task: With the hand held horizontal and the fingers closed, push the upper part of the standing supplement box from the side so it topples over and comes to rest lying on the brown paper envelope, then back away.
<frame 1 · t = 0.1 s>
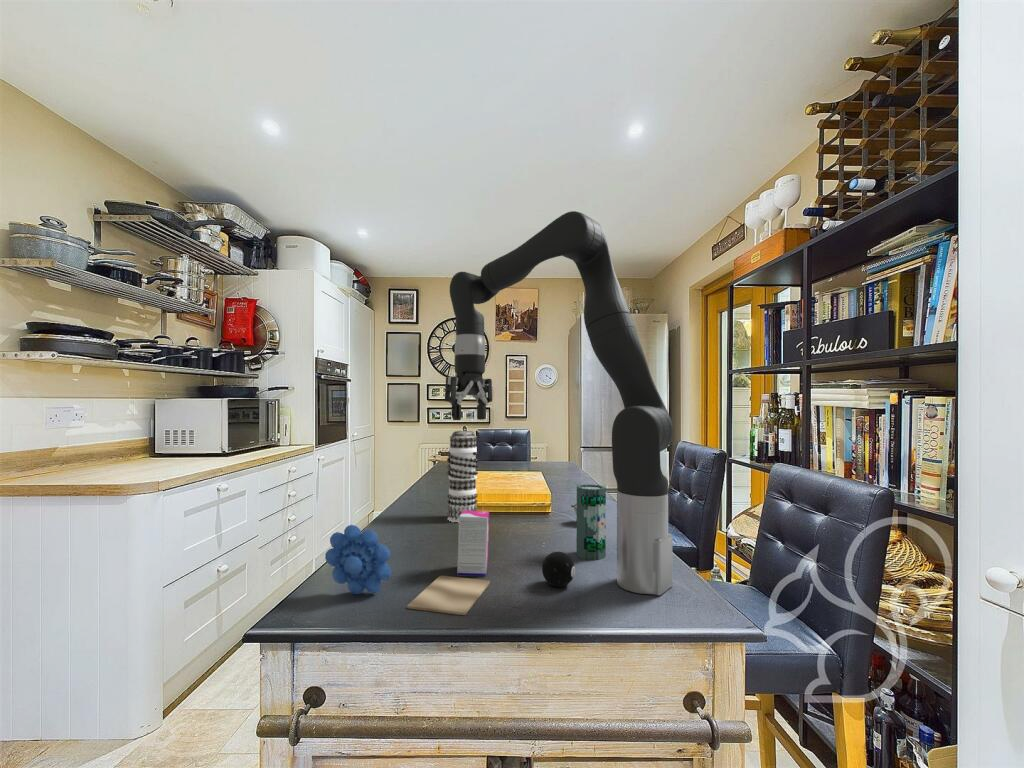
hand: (469, 419, 118), 29 cm above the countertop, tool pointing down, fingers open, 8 cm apart
grey white cylinder: (462, 519, 137), on the countertop
blue knobbed wheel: (355, 597, 83), on the countertop
can: (590, 556, 106), on the countertop
billiard ball: (558, 586, 89), on the countertop
brown paper envelope: (451, 594, 84), on the countertop
supplement box: (473, 572, 96), on the countertop
game die: (588, 524, 133), on the countertop
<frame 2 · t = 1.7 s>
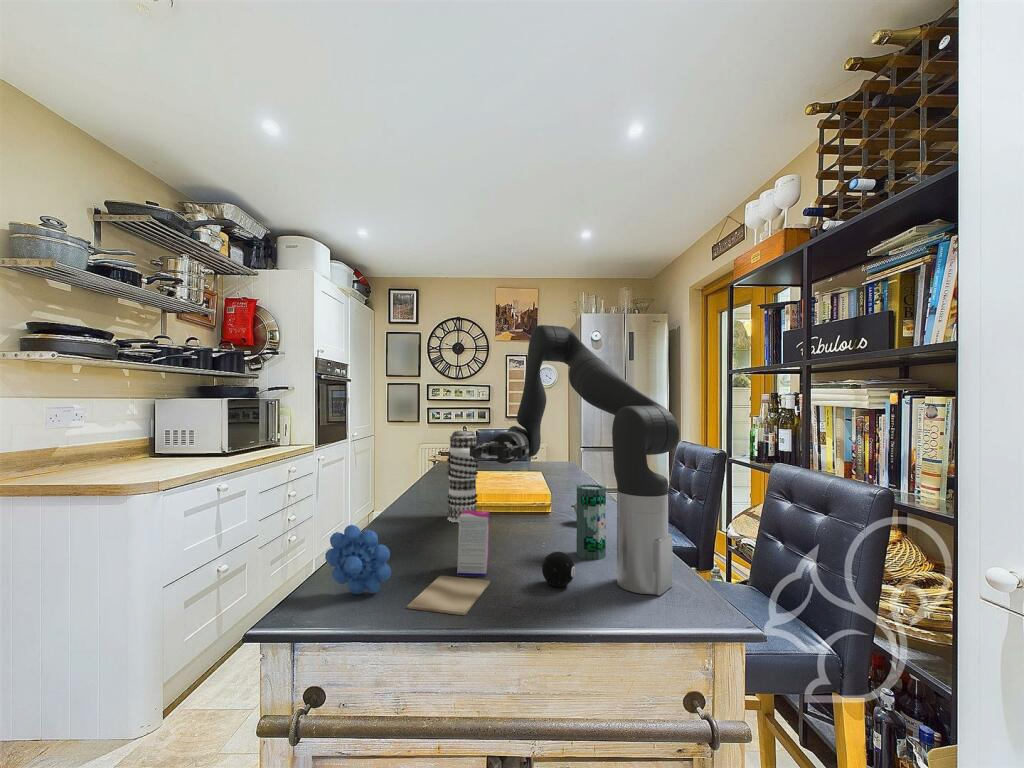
hand: (489, 454, 107), 22 cm above the countertop, tool horizontal, fingers open, 6 cm apart
nothing on the countertop moved.
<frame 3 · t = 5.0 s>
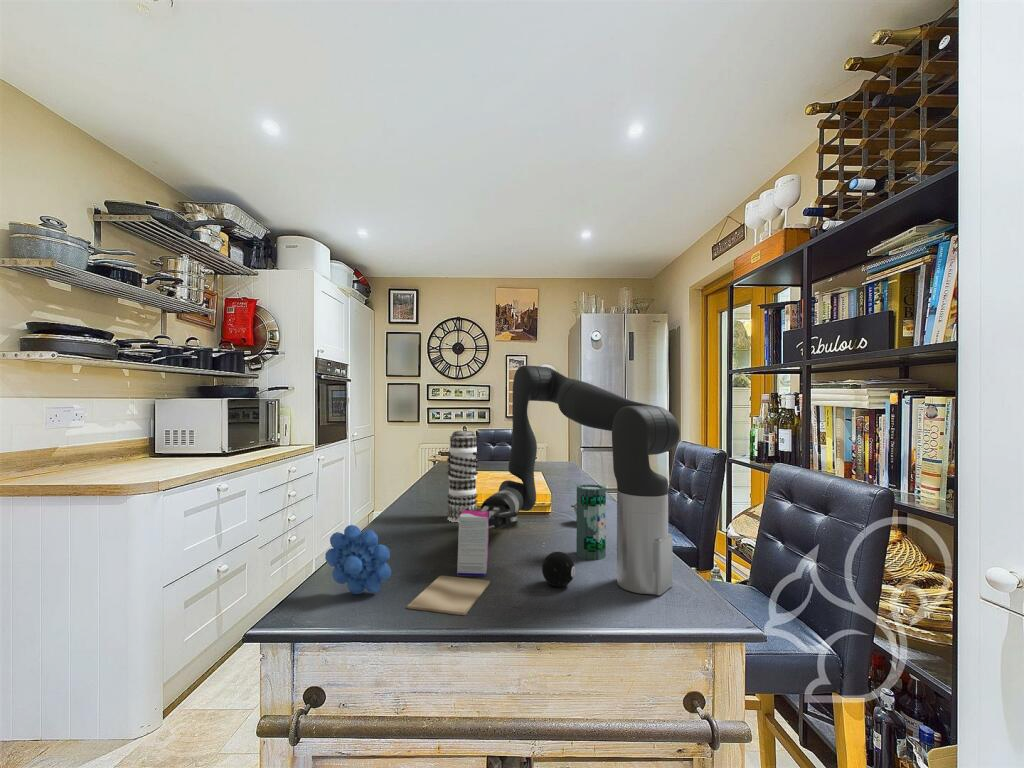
hand: (478, 526, 99), 8 cm above the countertop, tool horizontal, fingers closed
supplement box: (473, 572, 96), on the countertop, touching gripper
everything else where it was.
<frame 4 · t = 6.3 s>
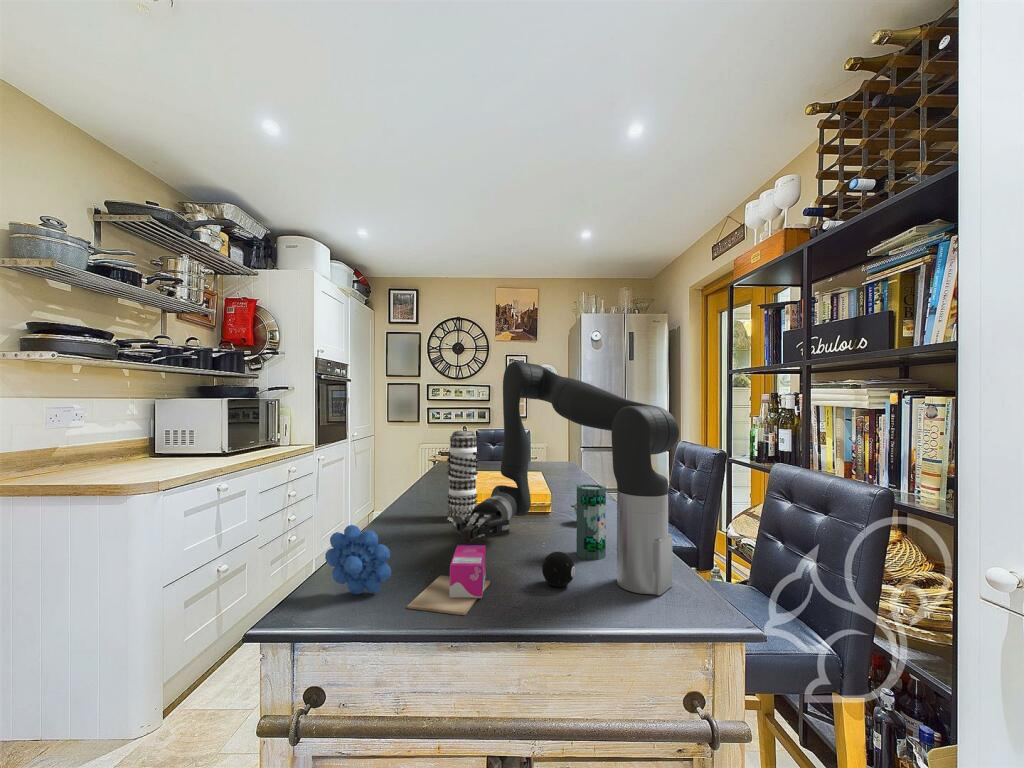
hand: (466, 535, 92), 8 cm above the countertop, tool horizontal, fingers closed
supplement box: (472, 558, 93), point 3 cm above the countertop, touching brown paper envelope
everything else where it was.
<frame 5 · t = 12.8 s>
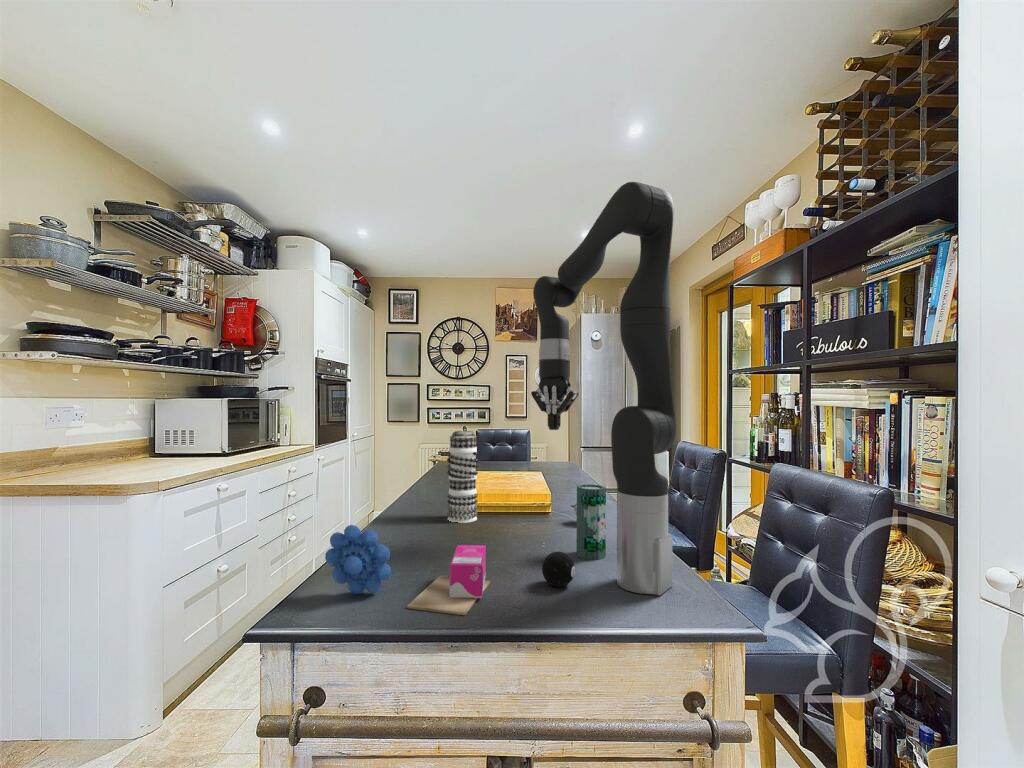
hand: (554, 429, 117), 27 cm above the countertop, tool pointing down, fingers closed
nothing on the countertop moved.
at the end: supplement box tilted 91°; supplement box 9.4 cm from the brown paper envelope (horizontally); supplement box point 3.4 cm above the countertop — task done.
